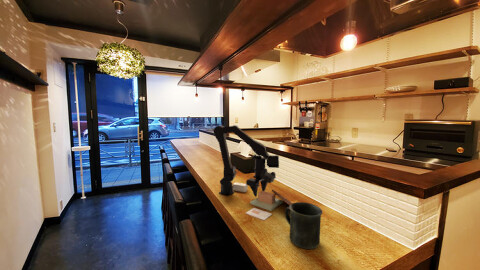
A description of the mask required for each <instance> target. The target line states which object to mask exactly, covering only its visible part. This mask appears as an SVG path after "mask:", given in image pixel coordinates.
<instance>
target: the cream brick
mask: <svg viewBox="0 0 480 270" xmlns="http://www.w3.org/2000/svg"><path fill="white" fill-rule="evenodd" d="M232 186H233V191H234V192H236V191H237V192H242V193H246V192H247V191H248V185H246V183H242V182H236V181H235V182H234V183H232Z"/></svg>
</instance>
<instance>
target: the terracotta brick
mask: <svg viewBox="0 0 480 270" xmlns="http://www.w3.org/2000/svg"><path fill="white" fill-rule="evenodd" d="M276 197H277V195H276V194H274V193H273V192H268V191H266V190H265V191H262V190H261V191H258V192H257V198H258V201H262V202H265V203H268V204H271V205H272V204H273V203H275V198H276Z"/></svg>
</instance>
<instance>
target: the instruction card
mask: <svg viewBox="0 0 480 270" xmlns="http://www.w3.org/2000/svg"><path fill="white" fill-rule="evenodd" d="M245 214H246V215H249V216H251V217H254V218H257V219H259V220H261V221H265V220H267V219H268V218H269V217H270V216H272V215H273V214H272V213H270V212H268V211H265V210H262V209H259V208H256V207H253V208H251V209H249V210H248V211H246V212H245Z"/></svg>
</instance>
